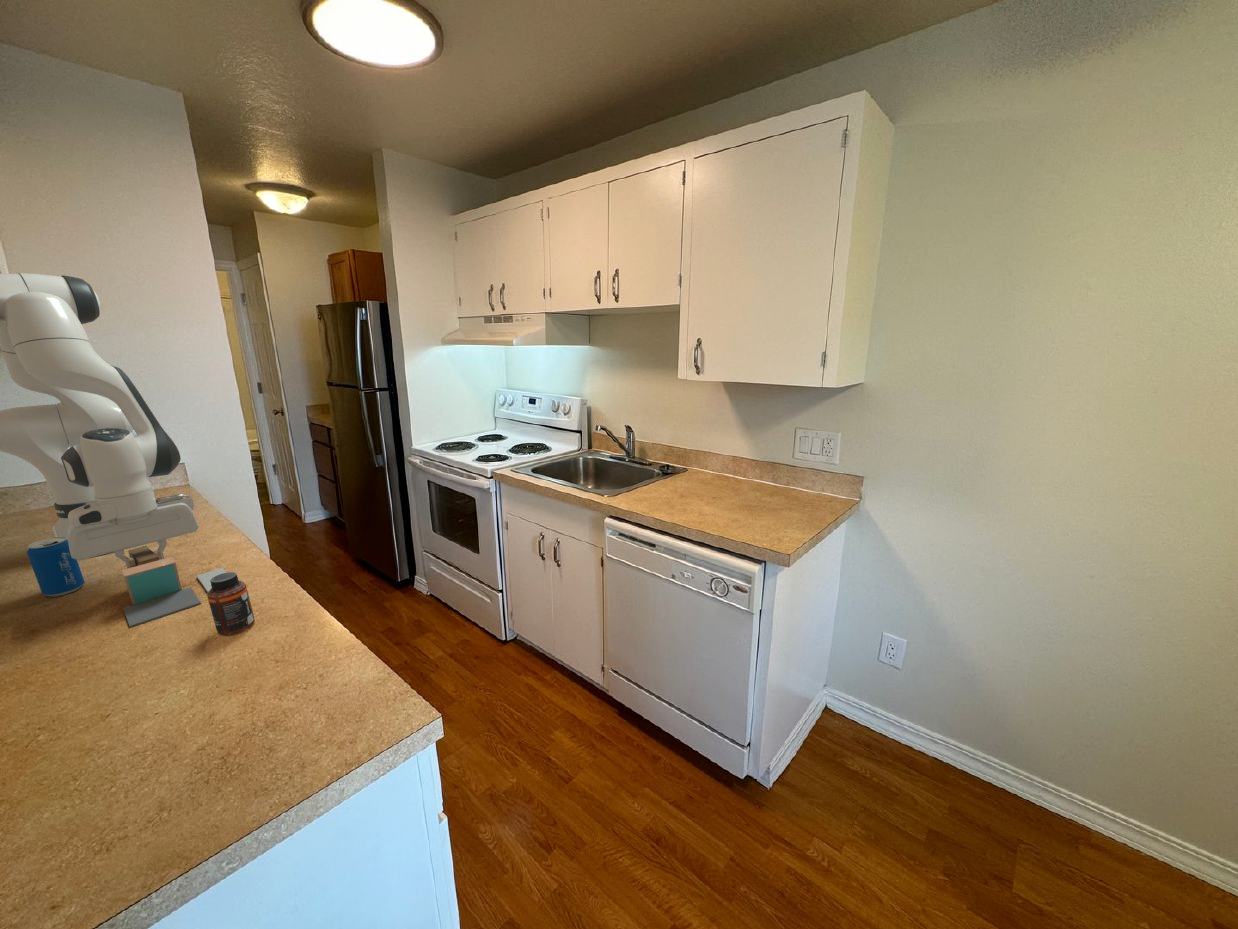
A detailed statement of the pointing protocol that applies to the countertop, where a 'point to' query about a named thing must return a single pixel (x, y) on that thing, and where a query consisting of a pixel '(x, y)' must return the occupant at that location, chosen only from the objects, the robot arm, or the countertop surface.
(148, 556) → the tall taupe beveled block
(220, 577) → the supplement bottle
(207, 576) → the pad
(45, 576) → the beverage can
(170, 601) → the mat
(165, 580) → the tile
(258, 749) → the countertop surface
